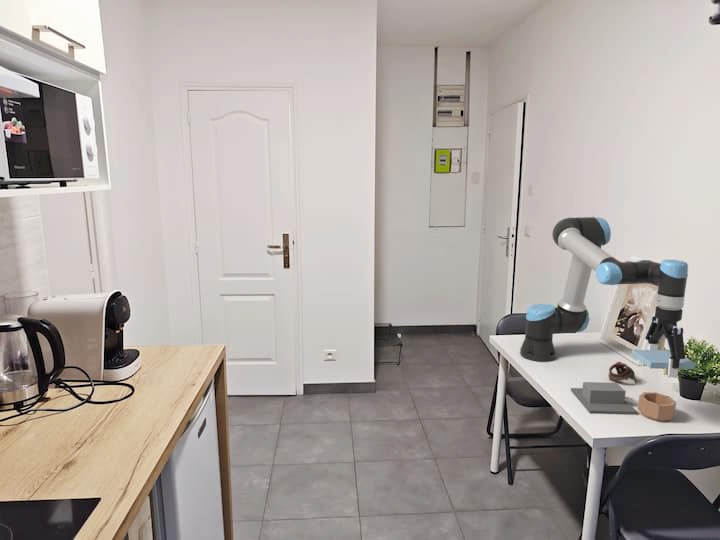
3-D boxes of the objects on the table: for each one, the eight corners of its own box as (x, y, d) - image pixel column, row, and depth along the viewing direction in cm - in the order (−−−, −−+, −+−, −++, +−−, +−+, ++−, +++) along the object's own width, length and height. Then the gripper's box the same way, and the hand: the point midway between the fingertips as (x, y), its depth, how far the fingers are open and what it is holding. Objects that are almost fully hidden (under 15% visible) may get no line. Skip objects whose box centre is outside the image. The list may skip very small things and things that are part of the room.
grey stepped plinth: (570, 390, 185) (572, 375, 184) (613, 391, 184) (615, 376, 183) (589, 413, 167) (591, 397, 166) (637, 414, 166) (639, 398, 165)
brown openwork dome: (641, 387, 188) (634, 371, 186) (616, 394, 192) (609, 379, 189) (631, 368, 199) (624, 353, 196) (607, 375, 202) (600, 360, 200)
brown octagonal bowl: (633, 407, 171) (635, 391, 170) (662, 408, 171) (664, 392, 169) (648, 421, 161) (650, 405, 160) (679, 422, 161) (681, 406, 160)
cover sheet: (632, 355, 168) (632, 349, 168) (673, 355, 168) (674, 350, 167) (650, 368, 157) (650, 362, 156) (695, 369, 156) (695, 363, 155)
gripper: (638, 297, 171) (632, 355, 175) (679, 317, 147) (670, 384, 151) (660, 298, 170) (653, 356, 174) (704, 318, 146) (695, 384, 150)
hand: (661, 369), depth 163 cm, fingers closed on cover sheet, 12 cm apart
